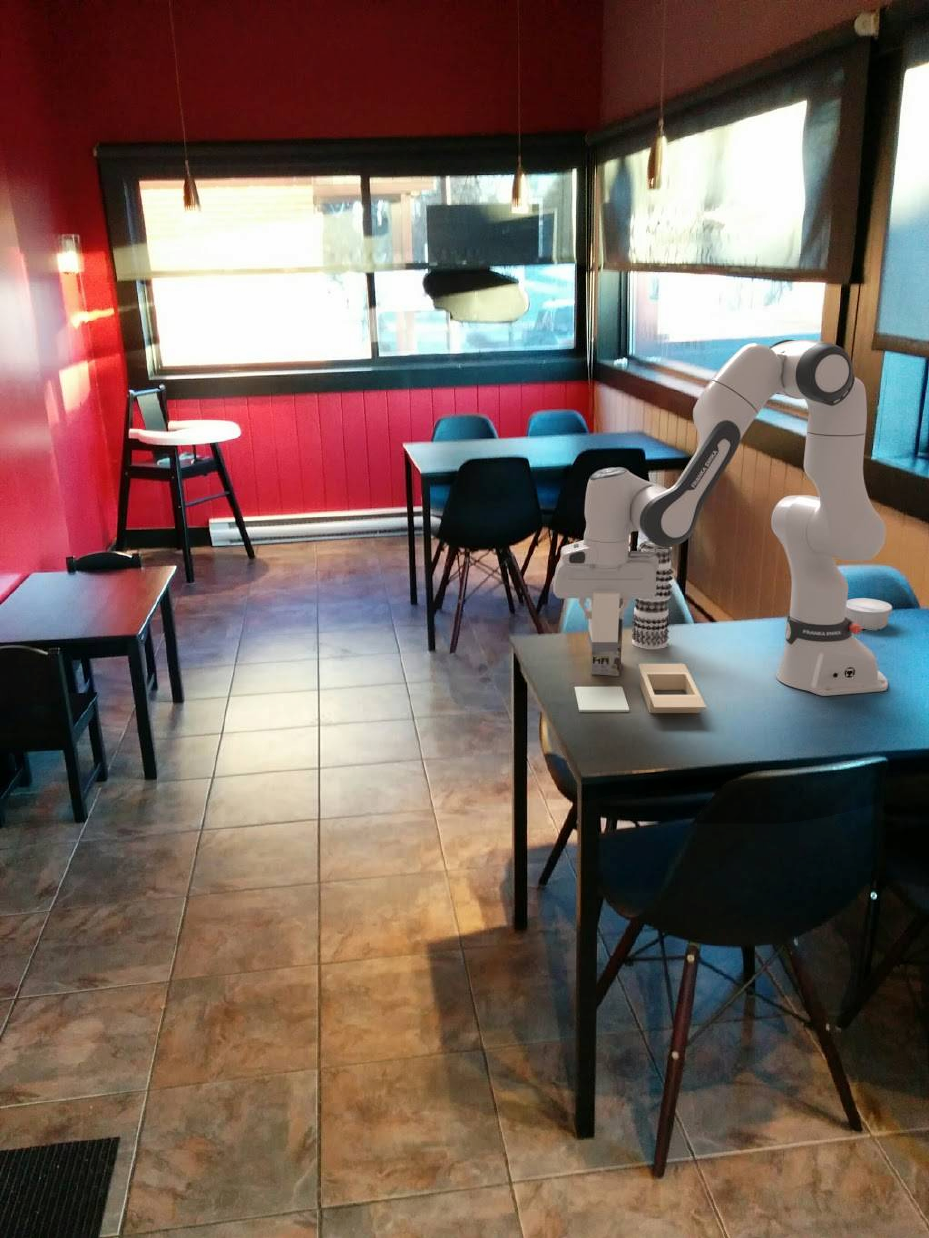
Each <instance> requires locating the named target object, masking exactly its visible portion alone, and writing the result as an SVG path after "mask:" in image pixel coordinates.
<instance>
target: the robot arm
mask: <svg viewBox="0 0 929 1238" xmlns="http://www.w3.org/2000/svg"><path fill="white" fill-rule="evenodd" d="M866 393H867V392H866V387H865V384H864V383H863V382H862V380H861V379H859V378H857V377H856V376H855V374H854V365H853V363H852V360H851V357H850V355H849V354H848V352H846V350H845V349H844V348H842V347H841V346H838V345H836V344H835V343H831V342H828V341H826V342H824V341H819V340H815V339H814V340H813V339H801V340H800V339H799V340H795V339H784V340H783V339H782V340H780V341H777V342H775V343H773V344H771V345H769V346H767V345H765V344H763V343H755V342H750V343H747V344H745V345H743V346H742V347H741V348H739V350H737V351H736V352H735V353H734V354H733V355H732V356H731V357H729V359H728V360H727V361H726V362H725V363H724V364H723V365H722V366H721V367H720V369H718V371H717V372H716V373H715V374H714V376H712V378H711V380H710V381H709V382H708V383H707V385H706V386H705V388H704V389H703V391H702V392H701V394H700V395H699V397H698V399H697V401H696V403H695V405H694V407H693V409H692V410H693V411H692V418H693V424H694V427H695V429H696V432H697V433H698V445H697V447H696V451H695V453H694V455H693V456H692V457H691V459H690V460H689V461H688V463H687V465H686V467H685V469H684V470H683V471H682V473H681V475H680V476H679V477H678V479H677V481H676V482H675V483H674V484H673V485H672V486H671V487H670V488H666V487H665V486H662V485H660V484H658V483H656V482H655V483H654V482H652V481H648V480H645V479H643V478H641V477H639V476H637V475H635V474H634V473H632V472H630V471H629V469H627V468H625V467H621V466H620V467H619V466H618V467H612V466H611V467H607V468H606V467H605V468H603V469H599V470H596V471H595V472H594V473H592V475H590V477H589V479H588V482H587V486H586V491H585V499H584V518H585V519H584V520H585V522H586V523H585V530H584V533H583V540H579V541H575V542H572V543H570V544H566V545H564V546H562V547H561V549H560V558H561V559H559V561H558V562H557V564H556V567H555V572H554V577H553V587H552V588H553V595H555V597H556V598H557V599H578V603H579V606H580V607H581V609H582V610H583V620H589V619H591V617H592V616H591V615H592V611H591V609H589V608H588V607H586V604H587V599H590V598H593V591H619V593H620V598H622V601H623V604H622V606H621V607H620V609H619V619H623V620H625V619H624V618H625V612H626V610H627V609H628V607H629V606H630V605H631V599H636V598H653V597H654V596H655V595H656V591H657V588H656V575H655V573H656V572H657V570H658V567H659V559H658V557H657V556H656V555H655V554H653V553H652V552H649V551H645V552H638V550H637V551H634V550H631V551H630V535H631V533H632V532H639V533H641V534H643V535H644V536H645V537H646V539H649V540H650V541H651V542H653V543H654V544H656V545H658V546H661V547H672V548H673V547H677V546H679V545H680V544H682V543H684V542H685V541H686V540H687V539H689V538H690V537H691V535H693V532H694V531H695V528H696V526H697V523H698V520H699V516H700V514H701V511H702V508H703V505H704V504H705V502H706V500H707V498H708V497H709V496H710V493H711V492H712V491H713V489H714V487H715V485H716V484H717V483H718V482H719V480H720V478H721V476H723V473H724V472H725V471H726V468H727V467H728V465H729V464H730V462H731V460H732V458H733V457H734V456H735V453H736V452H737V449H738V447H739V445H740V443H741V440H742V439H743V437H744V435H745V433H746V431H747V430H748V428H749V427H750V425H751V424H752V423H753V422H754V420H755V419H756V417H757V416H758V414H759V413H760V412H761V410H762V409H763V408H764V406H765V405H766V403H767V402H768V401H769V400H770V399H771V398H772V397H773V396H774V395H781V396H785V397H788V398H790V399H791V398H792V399H795V400H805V403H806V405H807V408H808V409H807V410H808V419H807V423H806V424H807V425H806V426H807V427H806V436H805V447H804V456H803V457H804V458H803V469H804V473H805V474H806V475H807V477H808V478H809V480H811V482H812V483H813V484H814V486H815V489H816V492H817V495H818V496H814V495H811V494H798V495H797V494H796V495H794V494H793V495H788V496H785V497H783V498H782V499H780V500H779V501H778V503H776V505H775V507H774V509H773V511H772V514H771V519H770V520H771V521H770V523H771V529H772V531H773V534H774V535H775V537H776V538H777V539H778V540H779V541H780V543H781V545H782V547H783V549H784V552H785V555H786V558H787V561H788V566H789V570H790V576H791V592H790V593H791V595H790V608H789V612H788V613H787V617H786V622H785V628H784V629H785V631H784V636H785V637H784V639H785V644H784V648H783V653H782V656H781V660H780V663H779V666H778V669H777V671H776V672H775V677H776V678H777V680H778V682H779V681H780V683H783V684H784V685H785V686H789V687H792V688H794V689H798V690H802V691H807V692H811V693H813V694H816V695H819V696H822V697H826V696H838V695H840V696H841V695H850V694H865V693H877V692H884V691H885V692H886V691H887V689H888V687H889V682H888V679H887V677H886V676H885V675H884V674H883V673H882V672H881V671H880V670H878V669H879V668H878V663H877V662H878V661H877V659H876V655H874V653H873V651H872V650H871V649H869V648H868V647H867V646H866V645H865V644H864V643H863V642H861V641H860V639H857V637H855V636H854V635H860V633H862V628H861V627H860V626H859V625H858V624H857V623H853V621H851V620H850V619H848V618H846V617H845V613H846V604H847V600H848V594H849V584H848V581H847V578H846V577H845V576H844V574H843V573H842V572H841V571H840V569H839V568H838V566H837V563H836V561H835V559H838V560H841V561H848V562H849V561H851V562H866V561H869V560H871V559H874V558H875V557H876V556H877V555H878V554H879V553H880V551H881V550H882V548H883V547H884V544H885V542H886V538H887V528H886V523H885V521H884V520H883V518H882V516H881V515H879V513H878V512H877V511H876V509H875V508H874V506H873V504H872V502H871V500H870V498H869V495H868V491H867V488H866V483H865V479H864V477H865V476H864V453H865V445H866V444H865V441H866V433H867V432H866V431H867V421H868V419H867V418H868V416H867V415H868V411H867V410H868V409H867V408H868V407H867V405H868V404H867V403H868V402H867V394H866ZM651 556H654V557H651ZM853 634H854V635H853Z"/></svg>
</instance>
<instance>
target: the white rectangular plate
mask: <svg viewBox="0 0 929 1238" xmlns="http://www.w3.org/2000/svg"><path fill="white" fill-rule="evenodd" d="M573 688H574V693H575V697H576V703H577V707H578V708H577V709H578V713H629V712H630V707H629V704H628V702H627V698H626V694H625V691H624V689H623V687H622V686H574V687H573Z"/></svg>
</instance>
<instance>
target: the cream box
mask: <svg viewBox="0 0 929 1238" xmlns="http://www.w3.org/2000/svg"><path fill="white" fill-rule="evenodd" d="M619 601H620V593H619V591H593V598H589V602H588V603H589V606H588V609H591V611H592V615H591V616H592V617H591V619H588V636H587V637H588V638H587V639H588V642H589V646H590V649H591V651H592V652H617V647H618V624H619Z"/></svg>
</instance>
